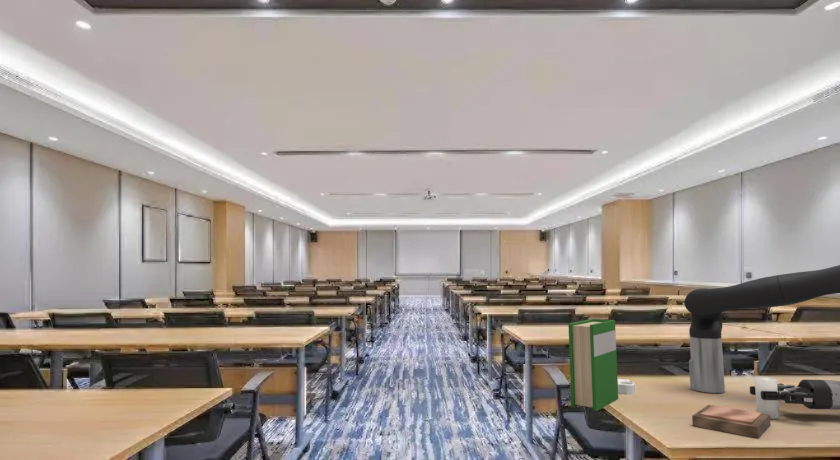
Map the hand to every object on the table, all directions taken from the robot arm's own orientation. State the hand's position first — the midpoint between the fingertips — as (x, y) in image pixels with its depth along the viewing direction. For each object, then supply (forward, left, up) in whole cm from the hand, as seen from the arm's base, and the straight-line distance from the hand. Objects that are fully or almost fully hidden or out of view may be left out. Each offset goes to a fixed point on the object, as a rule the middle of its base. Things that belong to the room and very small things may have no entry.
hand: (756, 392), depth 134 cm
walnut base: (-3, -14, -6) cm, 16 cm away
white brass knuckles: (-43, +4, -7) cm, 44 cm away
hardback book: (-38, -16, -6) cm, 42 cm away
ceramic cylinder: (+2, +2, -6) cm, 7 cm away
